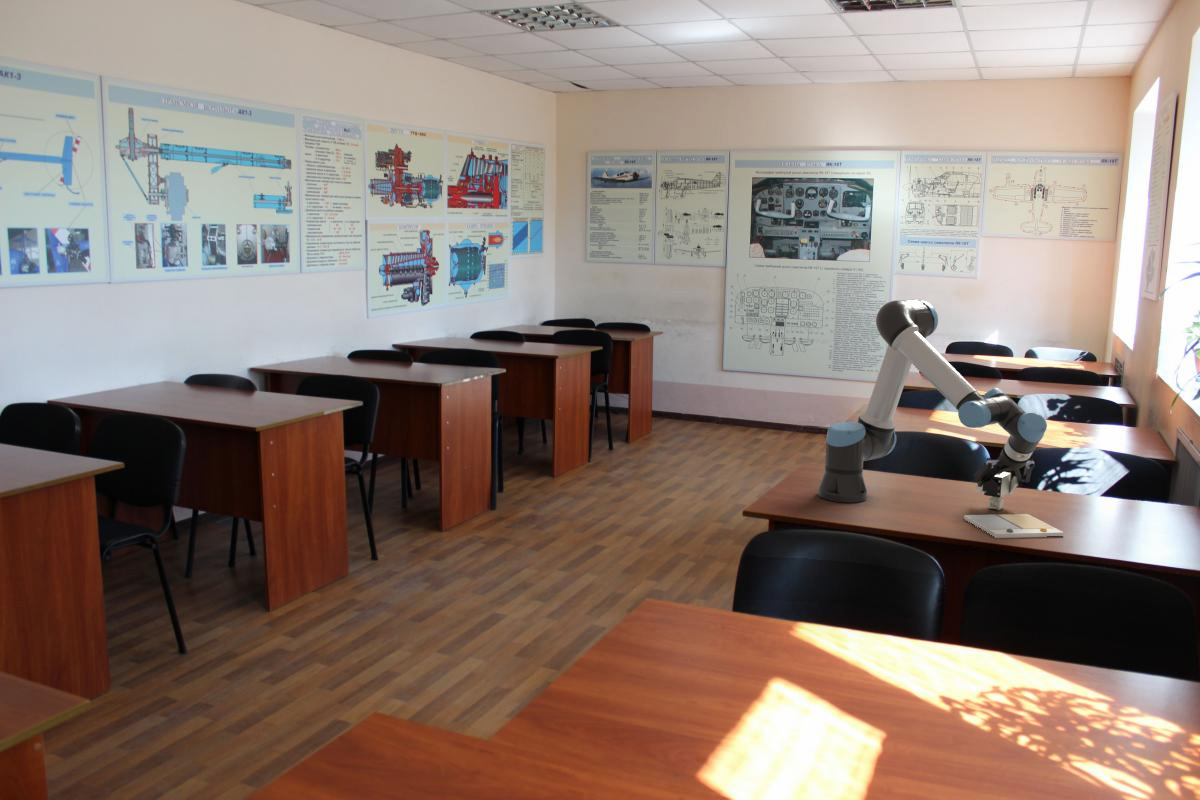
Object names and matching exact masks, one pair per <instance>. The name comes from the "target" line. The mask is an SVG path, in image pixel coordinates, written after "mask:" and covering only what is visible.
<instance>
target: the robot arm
mask: <svg viewBox="0 0 1200 800" xmlns="http://www.w3.org/2000/svg"><path fill="white" fill-rule="evenodd" d="M938 324H939V316H938V312H936V309H935V307H934V306H933V305H932V303H930V302H928V301H927V300H921V299H916V298H914V299H906V300H904V299H903V300H891V301H888V302H887V303H884V305H882V306H881V308H879V310H878V312H877V314H876V317H875V325H876V330H877V331H878V333H879V334H880V336H881V337H882V339H883V340H884V342H886V343H887V348H886V351H885V355H884V356H883V360H882V362H881V366H880V369H879V372H878V375H877V378H876V381H875V384H874V387H873V390H872V393H871V395H870V398H869V401H868V405H867V408H866V410H865V411H864V412H860V414H859V415H858V418H857V422H856V421H845V422H842V421H841V422H836V423H832V424H830V425H829V427H828V428H827V432H826V437H825V441H826V442H825V443H826V444H825V446H826V447H825V462H824V463H825V465H824V472H823V476H822V478H821V481H820V483H819V486H818V489H817V490H818V491H817V496H818V497H819V498H822V499H823V500H826V501H831V502H837V503H850V504H851V503H861V502H864V501H866V500H867V499H868V489H867V487H866V483H865V478H864V474H863V469H864V462H867V461H871V460H877V459H881V458H884V457H885V456H888V455H889V454H890V453H891V452H892V451H893V450H894V449H895V446H896V444H897V434H896V430H895V428H896V423H895V421H894V416H895V414H896V410H897V408H898V405H899V402H900V398H901V395H902V392H903V390H904V387H905V384H906V381H907V379H908V375H909V374H910V373H909V372H910V369H911V367H912V365H913V366H914V368H916V369H917V370H918V372H920V373H921V374H922V375H923V376H924V377H925V379H926V380H928V381H929V382H930V383H931V385H932V386H933V387H934V388H936V389H937V391H938V392H939V393H940V394H941V395H942V396H943V397H945V399H946V400H947V401H948V402H949V403H950V404H951V405H952V406H953V407H954V409H956V410H957V411H958V412H957V416H958V419H959V421H960V423H961V424H962V425H963V426H965V427H966V428H971V429H974V428H979V429H981V428H984V427H986V426H989V425H996V424H998V425H999V426H1000V427H1001V428H1002V429H1003V430H1004V431H1005V432H1007V433H1008V434H1009V437H1008V439H1007V440H1006V442H1005V444H1004V446H1003V448H1002V449H1001V452H1000V453H999V456H998V457H997V458H996V459H991V458H990V457H987V458H986V460H985V462H984V463H983V464H982V465H981V466H980V467H979V468H978V469H977V470H976V472H974V474H973V475H974V480H975V482H976V483H977V486H976V489H977V494H978V495H982V494H983V492H984V491H982V490H983V483H984V482H986V481H988V480H989V479H991V478H992V477H994V476H995V475H997V474H998V473H999V474H1001V473H1002V472H1014V473H1015V476H1013V477H1012V478H1011V483H1010V492H1009V493H1008V495H1009V496H1012V495H1013V493H1014V492H1015V490H1016V488H1019V487H1022V486H1024V482H1025V484H1027V483H1029V482H1030V480H1031V476H1032V473H1033V469H1034V468H1035V467H1036V465H1035V461H1034V458H1031V456H1033V454H1034V451H1035V450H1036V448H1037V446H1038V445H1039V443H1040V442H1041V440H1042V439H1043V438H1044V436H1045V433H1046V431H1047V427H1048V423H1047V420H1046V419H1045V417H1043V416H1042V415H1041V414H1040V413H1039V414H1038V413H1036V412H1034V411H1027V412H1026V411H1025V410H1024V409H1023V408H1022V407H1021V406H1019V404H1017V403H1016V402H1015V401H1014V400H1013V399H1012V398H1011V397H1010V396H1009V394H1007V393H1005V392H1004V391H1003V390H1001V389H1000V388H998V387H994V388H992V389H990V390H988V391H986V392H985V393H984V394H983V395H982V394H981V393H980V392H978V390H976V388H975V387H974V386H973V385H971V384H970V382H968V380H966V379H965V378H964V376H962V374H961V373H960V372H959V371H957V370H956V368H955V367H954V366H953V365H952V364H951V363H949V361H947V359H946V358H945V357H944V356H942V355H941V353H940V352H939V351H937V349H936V348H935V347H933V345H931V343H929V341H928V340H927V337H930V336H931V335H932V334H933V333H934V332H935V331H936V329H937V327H938ZM1023 467H1024V471H1023V475H1021V471H1020V469H1022V468H1023Z"/></svg>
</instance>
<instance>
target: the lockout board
mask: <svg viewBox="0 0 1200 800" xmlns="http://www.w3.org/2000/svg"><path fill="white" fill-rule="evenodd" d="M964 519H965V520H964ZM963 520H964V521H966V520H967V521H968V523H969V522H970V523H969V524H971V523H972V524H974V525H975V527H976V526H977V527H976V528H978V527H979V528H981V529H982V530H981V529H980V530H981V531H983V530H984V531H986V532H987V534H988V533H989V534H990V536H991V535H992V536H991V537H993V536H994V537H993V538H994V539H1011V538H1012V539H1014V538H1015V539H1017V538H1048V537H1047V536H1063V537H1064V534H1065V533H1064V531H1062V530H1060V529H1058V528H1056V527H1054V526H1052V525H1050V524H1048V523H1046V522H1045V521H1042V520H1041V519H1038V518H1037V517H1034V516H1033V515H1030V514H1028V513H1012V514H1011V513H1010V514H1008V513H1007V514H1006V513H1005V514H1004V513H1003V514H1002V513H1001V514H965V515H963ZM967 521H966V522H967ZM972 524H971V525H972ZM974 525H973V526H974ZM979 528H978V529H979ZM984 531H983V532H984ZM986 532H985V533H986ZM989 534H988V535H989Z"/></svg>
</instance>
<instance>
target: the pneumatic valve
mask: <svg viewBox="0 0 1200 800" xmlns="http://www.w3.org/2000/svg"><path fill="white" fill-rule="evenodd" d="M1011 480H1012V472H1010V471H1004V472H1002V473H1001V474H999V473H998V474H997V475H995V476H994V477H992V478H991V479H989V480H988V481H986V482H984V483H983V490H982V491H983V492H984V494H983V495H984V496H987V497H989V498H988V500H989V502H988V503H989V505H988V506H987V507H988V509H989V508H990V509H993V510H996V511H1001V510H1002V509H1003V508H1004V500H1005V498H1004V496H1006V495H1007V494H1009V492H1010V483H1011ZM990 509H989V510H990Z"/></svg>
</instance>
